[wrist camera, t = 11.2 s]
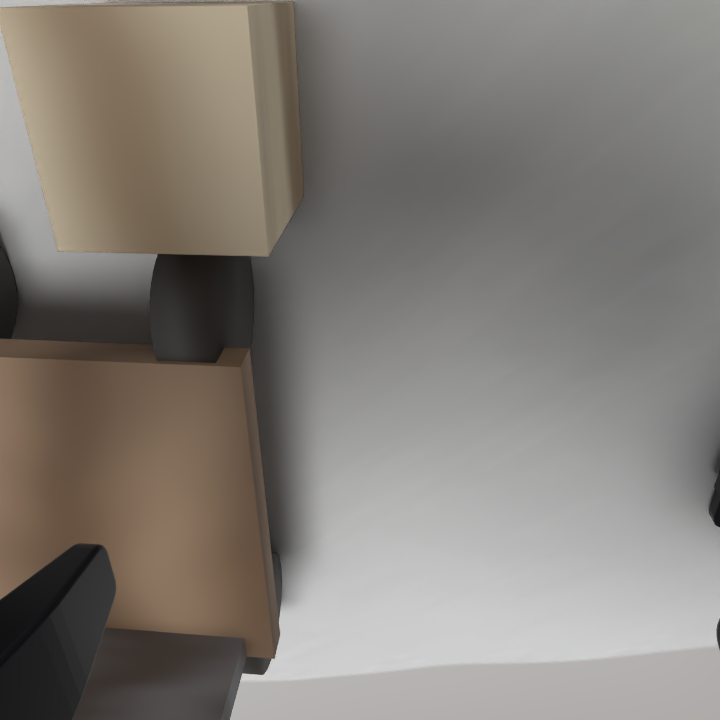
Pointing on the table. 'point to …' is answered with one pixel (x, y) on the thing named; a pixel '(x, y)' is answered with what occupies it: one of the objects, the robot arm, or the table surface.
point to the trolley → (149, 489)
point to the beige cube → (161, 123)
